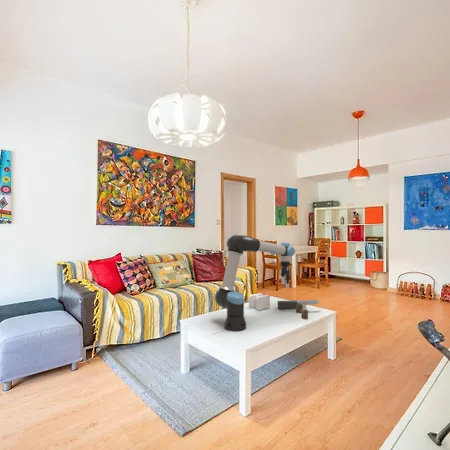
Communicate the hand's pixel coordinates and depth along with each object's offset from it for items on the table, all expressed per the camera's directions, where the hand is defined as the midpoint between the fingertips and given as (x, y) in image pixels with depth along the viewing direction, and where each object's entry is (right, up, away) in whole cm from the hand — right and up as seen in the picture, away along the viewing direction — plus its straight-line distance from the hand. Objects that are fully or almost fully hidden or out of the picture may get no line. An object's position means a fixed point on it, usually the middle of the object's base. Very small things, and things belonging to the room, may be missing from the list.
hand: (285, 286), depth 240 cm
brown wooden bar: (+9, -19, -17) cm, 27 cm away
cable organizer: (-22, -20, +1) cm, 29 cm away
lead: (+6, -19, 0) cm, 20 cm away
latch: (+16, -13, -10) cm, 23 cm away
